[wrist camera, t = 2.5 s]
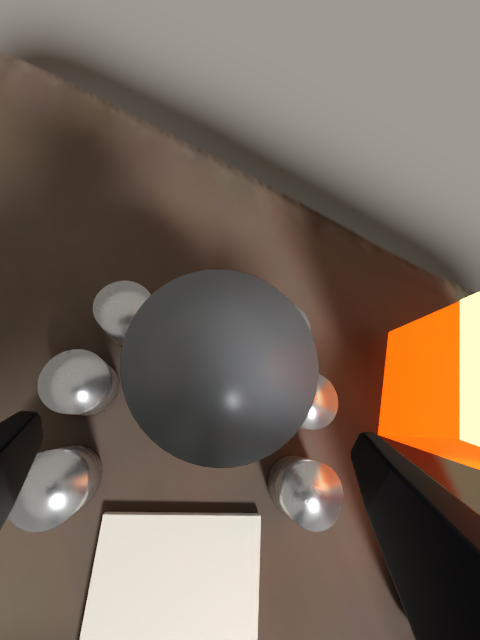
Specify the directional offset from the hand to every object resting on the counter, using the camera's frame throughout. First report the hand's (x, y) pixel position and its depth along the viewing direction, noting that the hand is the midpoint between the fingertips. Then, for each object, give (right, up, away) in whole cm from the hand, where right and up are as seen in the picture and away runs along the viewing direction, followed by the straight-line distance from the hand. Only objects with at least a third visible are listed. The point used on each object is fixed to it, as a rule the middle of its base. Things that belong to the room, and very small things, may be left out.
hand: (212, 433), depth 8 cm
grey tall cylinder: (-2, -1, +9) cm, 9 cm away
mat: (-2, -12, +5) cm, 13 cm away
